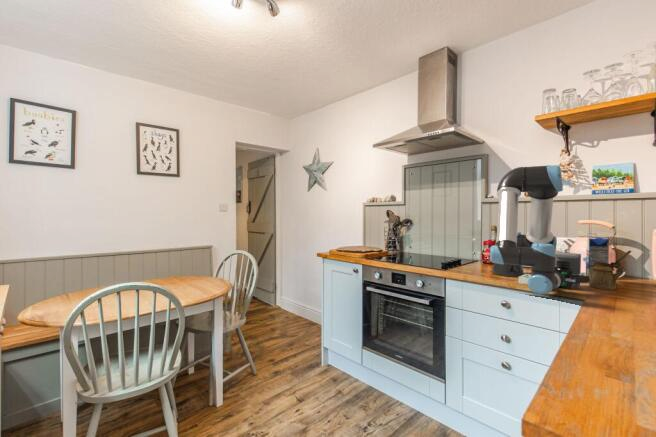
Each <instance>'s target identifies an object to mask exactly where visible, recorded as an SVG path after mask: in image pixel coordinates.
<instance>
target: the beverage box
mask: <svg viewBox="0 0 656 437" xmlns="http://www.w3.org/2000/svg"><path fill="white" fill-rule="evenodd" d="M585 248H586V249H585V250H586V251H585V253H586V254H585V256H586V257H585V276H589V283H587V284H588V285H589V284H590V282H591V278H592V273H593V266H594V263H595V262H601V263H609V262H610V261H609V259H610V258H609V257H610V256H609V254H610V252H609V251H610V239H609V238H607V237H600V236H599V237H598V236H597V237H596V236H586V247H585Z"/></svg>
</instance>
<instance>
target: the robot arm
mask: <svg viewBox="0 0 656 437" xmlns="http://www.w3.org/2000/svg"><path fill="white" fill-rule="evenodd" d="M562 174H563V173H562V168H561V166H560V165H556V164H555V165H552V164H551V165H549V164H547V165H537V166H534V165H533V166H519V167H515V168H513V169H511V170H509V171H508V172H507V173H506V174H504V176H503V177H502V178H501V179H500V181H499V183H498V185H497V189H496V196H497V197H498V210H497V212H498V214H497V229H496V239H495V243H496V244H495V245H491V246H490V251H489V252H490V254H489V259H490V261H491V263H493V265H492V268H491V273H492V274H494V275H498V276H503V277H512V278H513V277H514V278H516V277H517V278H519V276H522V275H525V271H524V267H530V268H531V269H530V271H531V272H530V273H531V274H530V275H531V277H530V278H529V280H528V285H527V286H528V288H529V290H530V291H531V292H533V293H535V294H536V295H546V294H549V293H550V292H552V291H554V290H555V289H559V288H558V287H560V286H561V285H562V284H563V282H565V283H567V282H569V281H570V283H571V284H575V283H580V284H585V283H587V284H588V283H589V276H586V272H581V273H580V274H579V275H567V274H561V273H560V272H558V271H556V270H555V252H556V249H557V237H556V236H555V235H554V234H553V233H552V232H551V226H552V216H553V208H554V207H553V206H554V199H555V198H556V197H557V196H558V194H559V193H560V192H563V190H564V187H563V186H564V185H563V178H562V177H563V176H562ZM522 193H527V196H528V197H529V198H530V210H529V211H530V212H529V213H530V215H529V216H530V217H529V230H528V231H526V234H522V233H521V231H518V220H519V198H520V196H521V195H522Z"/></svg>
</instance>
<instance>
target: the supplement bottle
mask: <svg viewBox="0 0 656 437" xmlns="http://www.w3.org/2000/svg"><path fill="white" fill-rule="evenodd" d="M556 265H557V266H556V267H555V270H556V271H558V272H560V273H561V274H567V275H573V270H572V269H571V268H569V266H570V262H567V261H557V264H556ZM559 288H561V289H560V290H566V289H569V290H572V289H573V287H572V284H571V283H570V281H569V282H567V283H565V282H563V284H562V285H561V286H560V287H558V288H557V289H559Z"/></svg>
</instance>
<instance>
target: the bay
mask: <svg viewBox="0 0 656 437" xmlns="http://www.w3.org/2000/svg"><path fill="white" fill-rule="evenodd" d="M557 261H567V262H570V266H569V268H571V269H572V270H573V275H579V274H581V273H582V272H581V270H582V267H581V265H582V254H581V253H576V252H575V253H574V252H563V251H555V267H556V266H557V265H556V264H557ZM572 286H573V287H572V288H576V287H578V288H577V289H580V288H581V283H575V284H572Z"/></svg>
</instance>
